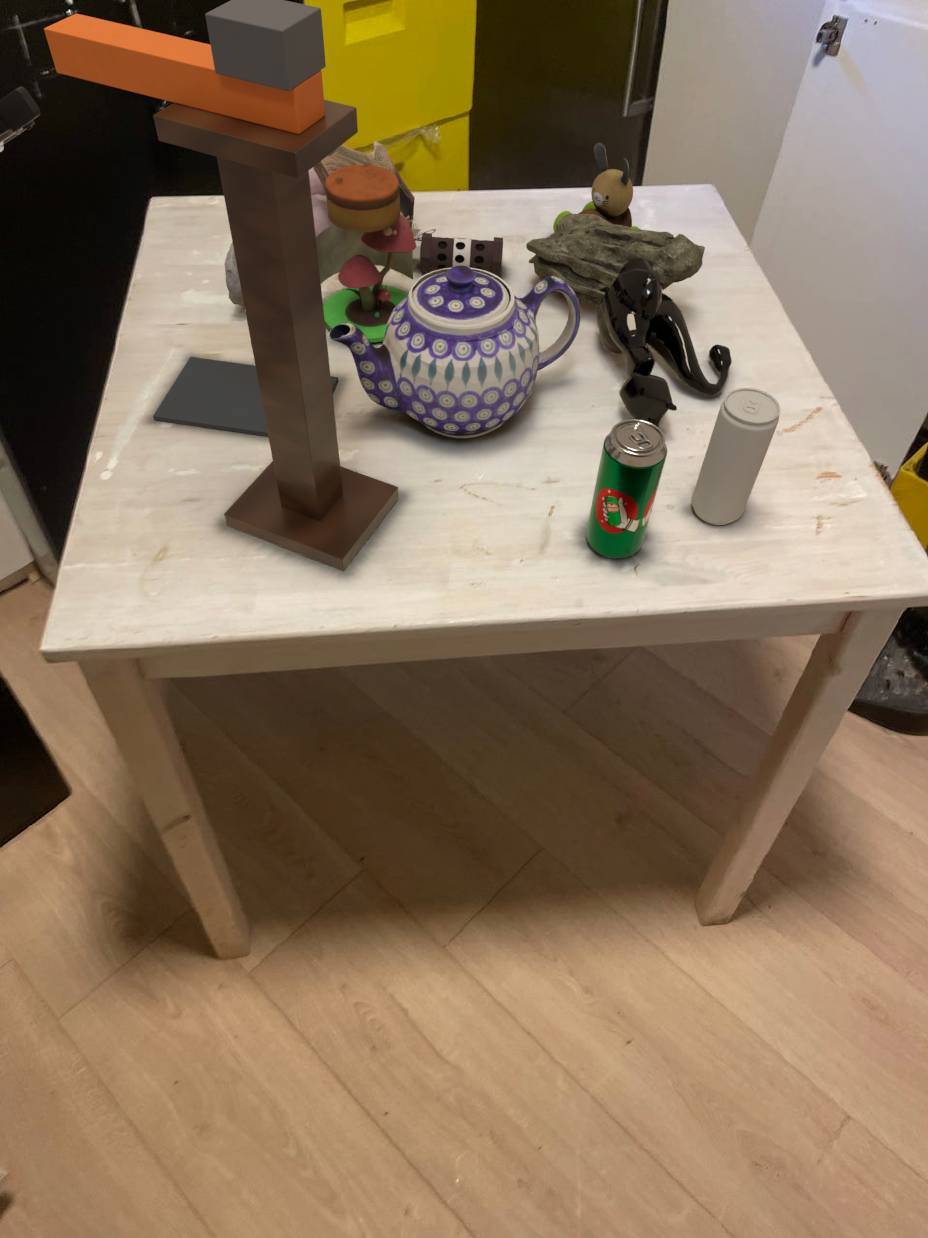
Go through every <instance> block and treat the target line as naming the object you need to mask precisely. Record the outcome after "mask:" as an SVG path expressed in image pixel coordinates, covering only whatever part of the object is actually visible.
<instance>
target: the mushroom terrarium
mask: <svg viewBox="0 0 928 1238" xmlns="http://www.w3.org/2000/svg"><path fill="white" fill-rule="evenodd" d="M325 188H326V199H327V209H328V218H329V220H330V221H331V222H332V223H333V224H334V225H332V226H330V227H328V228H327V229H325V230H324V231H322V232H321V233H320V234H319V235H318V236H317V237H316V245H317V254H318V263H319V273H320V282H321V284H322V283H324V282H326V280H328V279H329V278H332V276H334V275H336V274H338V277H337V278H338V281H339V283H340V284H341V285H342V286H344V287H345V288H343V289H341V290H338V291H337V292H335V293H333V294H332V295H330V296H329V297H328V298H327V299H326V300H325V302H324V303H323V310H324V319H325V328H327V329H328V330H329V332H330V331H331V330H332V329H333V328H334V327H335V326H337V325H339V324H343V323H350V324H352V325H355V326H356V327H358V328H359V329H360V330H361V331H362V332H363V333H364V334H365V336H366V337H367V338H368V340H369V341H370V342H371V343H381V342H382V343H383V340H384V335H385V330H386V326H387V323H388V320H389V318H390V315H391V313H392V311H393V310H394V308H395V307H396V306H397V305H398V304H399V303H400V302H401V301H402V300H404V299H405V298H406V297H407V296H408V294H409V293H406V292H405V291H403V290H401V289H398V288H396V287H393V286H389V285H385V284H383V282H384V278H385V277H386V275H387V274H388V273H389V272H390V270H392V271H394V272H397V273H399V274H401V275H403V276H405V277H408V279H411V280H414V259H413V250H414V249H415V248H416V242H415V239H416V237H415V236H416V235H417V234H418V233H419V232H420V231H421V229H419V228H413V227H412V228H411V227H410V225H409V223H408V221H407V219H406V218H405V217H403V216H402V215H400V191H399V181H398V178H397V177H396V175H395V174H393V173H392V172H391V171H389V170H387V169H385V168H382V167H378V166H373V165H351V166H347V167H343V168H340V169H338V170H336V171H334V172H332V173H331V174H330V175H329V176H328V177H327V179H326V182H325ZM376 266H381V267H382V269H381V271H379V269H378V268H377V267H376Z"/></svg>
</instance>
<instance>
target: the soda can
mask: <svg viewBox="0 0 928 1238" xmlns="http://www.w3.org/2000/svg"><path fill="white" fill-rule="evenodd" d="M667 455H668V446H667V444H666V436H665V434H664V432H663V431H662V429H661V428H659V426H658V427H657V426H656V425H654V424H652V423H650V422H647V421H644V420H638V419H635V418H630V419H625V420H621V421H618V422H617V423H615V424H614V425H613V427H612V428H611V430H610V432H609V433H608V434H607V435H606V436H605V437H604V439H603V445H602V449H601V455H600V461H599V465H598V470H597V475H596V479H595V480H596V481H595V485H594V490H593V496H592V500H591V506H590V510H589V516H588V521H587V524H586V525H587V526H586V532H585V538H586V540H587V543H588V544H589V546H590V547H591V548H592V549H593V550H594V551H595V552H596V553H598V554H599V555H601V556H603V557H606V558H609V559H624V558H625V559H626V558H628V557H631V556H633V555H635V554H637V552H639V551H640V550H641V548H642V546H643V543H644V540H645V537H646V533H647V529H648V526H649V522H650V519H651V515H652V510H653V507H654V503H655V500H656V497H657V491H658V489H659V486H660V481H661V477H662V473H663V471H664V467H665V464H666V463H665V462H666V459H667Z"/></svg>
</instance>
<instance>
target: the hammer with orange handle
mask: <svg viewBox="0 0 928 1238" xmlns="http://www.w3.org/2000/svg"><path fill="white" fill-rule="evenodd" d="M204 15H205V21H206V26H207V27H206V28H207V33H208V39H209V43H205V42H201V41H196V40H192V39H188V38H184V37H181V36H180V37H179V36H175V35H170V34H168V33H162V32H157V31H154V30H149V29H146V28H141V27H136V26H133V25H129V24H123V23H119V22H115V21H110V20H106V19H102V18H97V17H93V16H89V15H85V14H79V13H74V14H72V15H70V16H67V17H66V18H63V19H61V20H59V21H57V22H55V23H52V24H50V25H49V26H46V27H44V28H43V31H44V34H45V38H46V41H47V44H48V47H49V51H50V54H51V58H52V60H53V64H54V68H55V72H56V73H57V74H61V75H65V76H69V77H73V78H75V79H80V80H84V81H88V82H92V83H96V84H99V85H103V86H108V87H111V88H116V89H120V90H123V91H127V92H132V93H135V94H139V95H142V96H147V97H150V98H155V99H157V100H158V99H159V100H162V101H167V102H170V103H178V104H182V105H186V106H190V107H194V108H198V109H201V110H205V111H209V112H213V113H217V114H221V115H225V116H229V117H233V118H237V119H241V120H245V121H249V122H252V123H256V124H260V125H264V126H268V127H272V128H276V129H280V130H284V131H288V132H292V133H296V134H301V133H302V132H303V131H305V130H306V129H307V128H309V127H310V126H312V125H313V124H314V123H316V122H317V121H318V120H320V119H321V118H322V117H324V116H325V105H324V100H325V95H324V84H323V72H322V70H323V69H325V68H326V67H327V65H326V64H327V63H326V53H325V41H324V39H325V38H324V29H323V28H324V27H323V15H322V8H321V7H318V6H313V5H309V4H304V3H298V2H294V1H290V0H229V1H227V2H225V3H223V4H221V5H220V6H219V5H218V6H217V7H215V8H214V9H212V10H209V11H208V12H206V13H205V14H204Z"/></svg>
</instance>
